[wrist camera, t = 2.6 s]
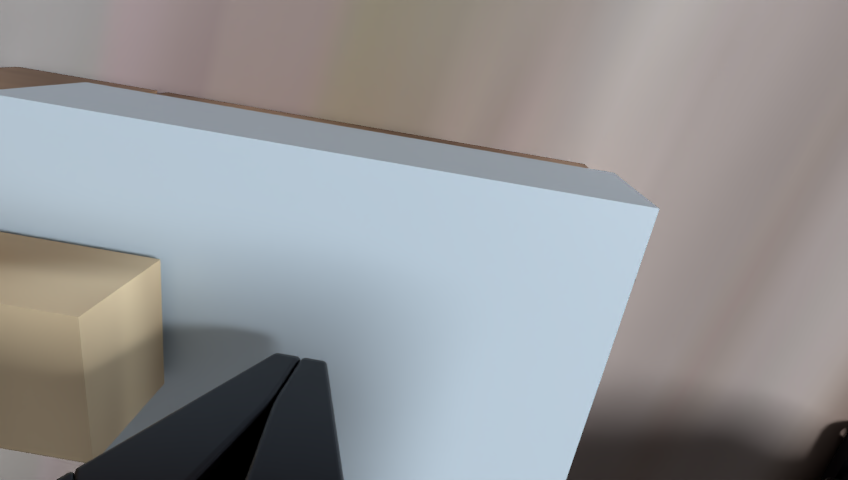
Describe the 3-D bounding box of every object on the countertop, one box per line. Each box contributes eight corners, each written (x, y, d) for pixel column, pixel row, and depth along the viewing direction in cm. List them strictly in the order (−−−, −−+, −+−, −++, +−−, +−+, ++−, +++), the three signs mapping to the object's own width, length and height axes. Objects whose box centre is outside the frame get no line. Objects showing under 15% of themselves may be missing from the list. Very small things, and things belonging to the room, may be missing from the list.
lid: (613, 173, 10) (659, 208, 8) (531, 445, 13) (547, 532, 11) (85, 81, 10) (-23, 91, 8) (109, 371, 13) (31, 442, 11)
